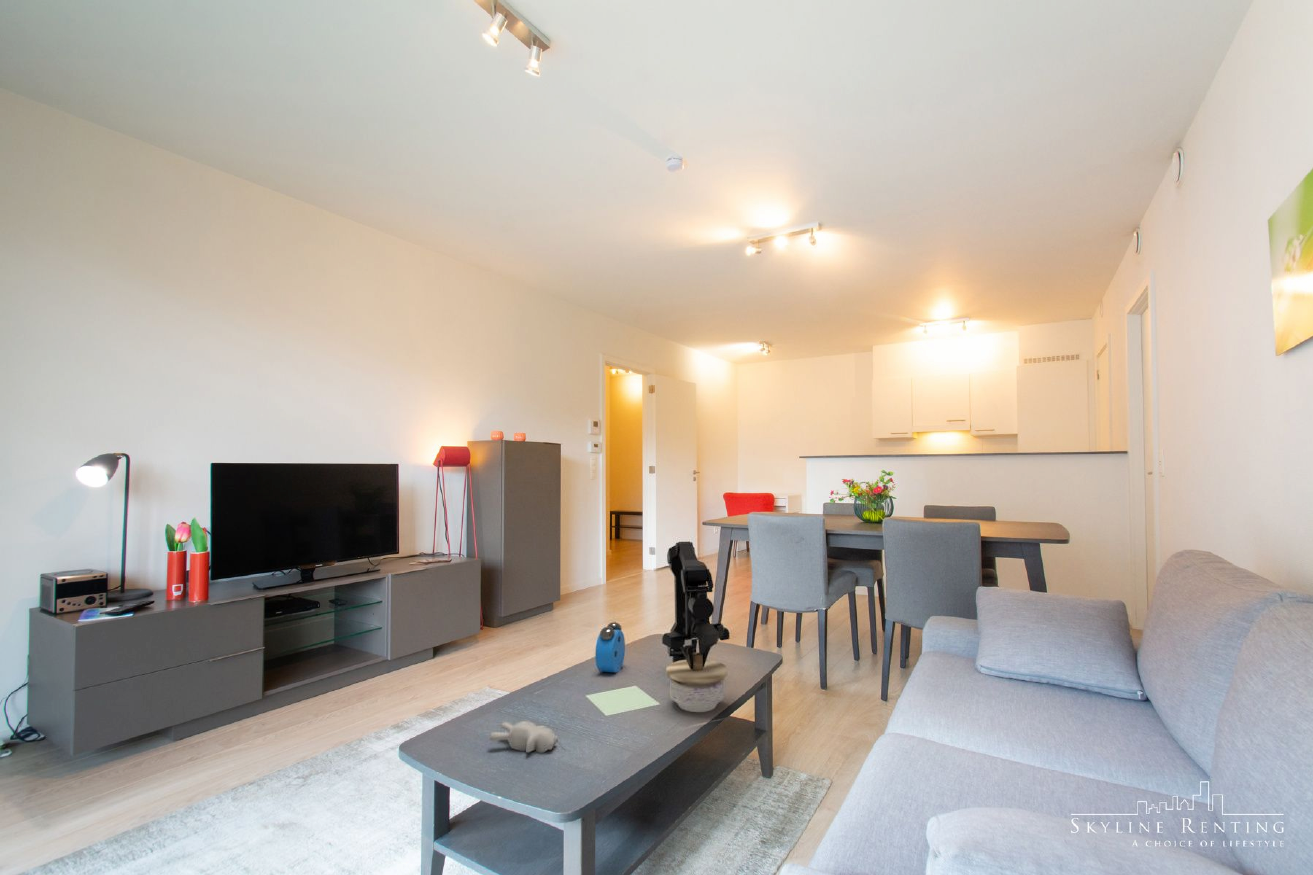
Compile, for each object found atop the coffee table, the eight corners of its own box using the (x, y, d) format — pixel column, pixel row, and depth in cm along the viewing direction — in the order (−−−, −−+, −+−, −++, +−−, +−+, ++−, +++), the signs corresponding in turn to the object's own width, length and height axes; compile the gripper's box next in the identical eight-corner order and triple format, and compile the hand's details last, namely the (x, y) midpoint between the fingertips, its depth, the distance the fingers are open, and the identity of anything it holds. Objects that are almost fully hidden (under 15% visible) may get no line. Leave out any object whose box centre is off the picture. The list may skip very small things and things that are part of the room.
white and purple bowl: (705, 723, 154) (705, 691, 154) (658, 709, 163) (658, 679, 163) (735, 704, 166) (734, 674, 166) (690, 692, 175) (689, 664, 176)
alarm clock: (608, 664, 201) (608, 619, 202) (626, 665, 199) (625, 620, 200) (594, 677, 188) (594, 629, 189) (613, 679, 187) (613, 630, 187)
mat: (585, 697, 172) (585, 695, 172) (635, 687, 179) (635, 685, 179) (606, 717, 158) (606, 715, 158) (660, 706, 165) (660, 704, 165)
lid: (655, 668, 169) (655, 650, 169) (707, 658, 176) (706, 641, 177) (685, 687, 154) (685, 668, 154) (740, 676, 161) (739, 657, 162)
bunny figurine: (547, 741, 136) (487, 727, 139) (545, 763, 136) (485, 749, 139) (562, 723, 145) (506, 711, 149) (560, 744, 145) (504, 732, 148)
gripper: (680, 621, 154) (681, 683, 154) (740, 612, 163) (741, 670, 162) (661, 612, 164) (661, 670, 164) (718, 604, 173) (719, 659, 172)
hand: (696, 667), depth 165 cm, fingers closed on lid, 3 cm apart
